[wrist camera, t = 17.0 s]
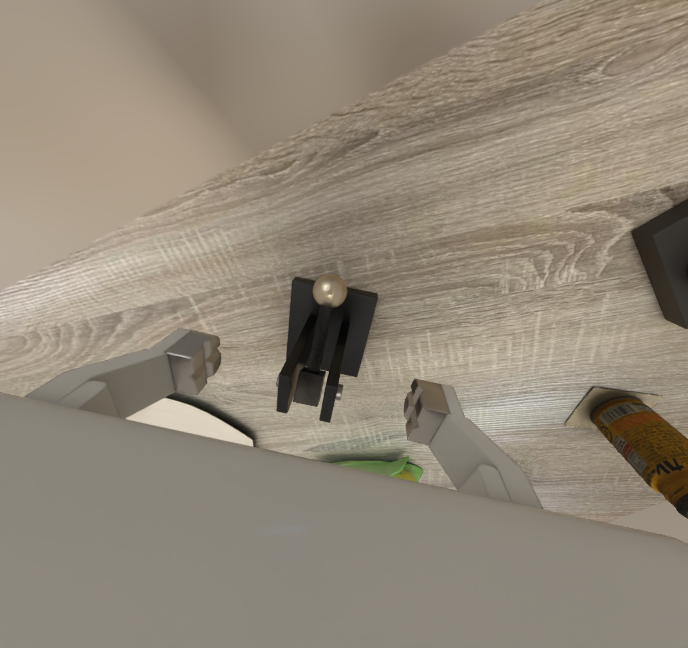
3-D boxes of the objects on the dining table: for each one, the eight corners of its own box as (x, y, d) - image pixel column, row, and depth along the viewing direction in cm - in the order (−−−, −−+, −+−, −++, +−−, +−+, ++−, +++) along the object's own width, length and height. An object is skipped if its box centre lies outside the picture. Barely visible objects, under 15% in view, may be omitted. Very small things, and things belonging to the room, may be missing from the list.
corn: (296, 473, 41) (423, 466, 38) (313, 454, 49) (419, 446, 46) (302, 529, 40) (433, 527, 36) (318, 500, 48) (427, 496, 44)
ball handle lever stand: (295, 276, 30) (248, 330, 19) (377, 293, 30) (378, 357, 19) (288, 356, 36) (250, 432, 25) (357, 370, 36) (349, 454, 25)
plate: (274, 428, 44) (270, 437, 42) (239, 497, 57) (234, 507, 55) (118, 365, 41) (107, 373, 39) (118, 454, 54) (110, 463, 52)
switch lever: (318, 274, 25) (314, 267, 22) (350, 281, 25) (350, 274, 22) (293, 392, 25) (286, 402, 22) (325, 399, 25) (322, 409, 22)
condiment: (625, 432, 36) (727, 534, 26) (563, 423, 37) (638, 519, 26) (661, 395, 33) (796, 494, 22) (592, 385, 33) (692, 478, 23)
